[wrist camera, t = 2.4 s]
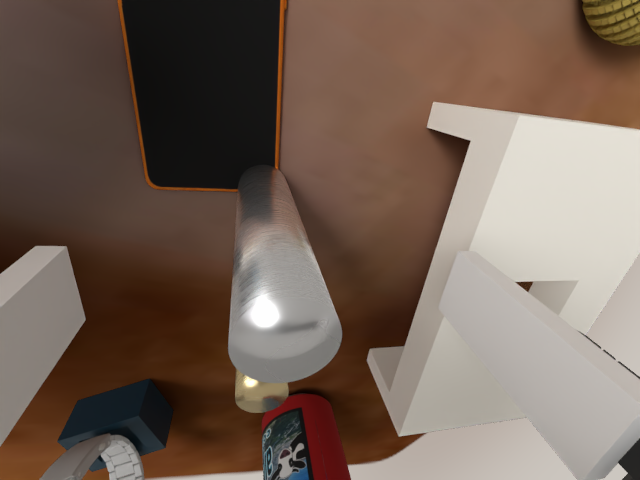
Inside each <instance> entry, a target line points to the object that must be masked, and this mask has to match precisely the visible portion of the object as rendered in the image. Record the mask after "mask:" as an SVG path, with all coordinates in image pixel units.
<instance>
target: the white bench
mask: <svg viewBox="0 0 640 480" xmlns="http://www.w3.org/2000/svg"><path fill="white" fill-rule="evenodd" d="M427 128H430V129H433V130H437V131H440V132H443V133H447V134H450V135H453V136H457V137H460V138H463V139H466V140H470V141H471V142H470V145H469V148H468V151H467V154H466V157H465V160H464V163H463V166H462V169H461V173H460V176H459V179H458V182H457V185H456V188H455V191H454V194H453V197H452V200H451V204H450V207H449V210H448V213H447V216H446V219H445V222H444V225H443V228H442V231H441V235H440V238H439V241H438V244H437V247H436V250H435V253H434V256H433V259H432V263H431V266H430V269H429V272H428V275H427V278H426V281H425V284H424V287H423V290H422V294H421V297H420V300H419V303H418V306H417V309H416V312H415V315H414V318H413V321H412V325H411V328H410V331H409V334H408V337H407V340H406V343H405V346H399V347H386V348H373V349H370V350H369V354H368V357H367V363H368V365H369V367H370V370H371V372H372V375H373V377H374V379H375V382H376V384H377V386H378V389H379V391H380V394H381V396H382V398H383V401H384V403H385V405H386V408H387V410H388V413H389V415H390V417H391V420H392V422H393V424H394V427H395V429H396V432H397V434H398V436H399V437H400V436H407V435H413V434H420V433H427V432H434V431H440V430H447V429H454V428H460V427H467V426H474V425H481V424H487V423H494V422H501V421H507V420H514V419H521V418H527V417H526V416H525V414H524V413H523V412H522V411H521V410H520V408H519V407H518V406H517V405H516V403H515V402H514V401H513V400H512V398H511V397H510V396H509V395H508V393H507V392H506V391H505V390H504V389H503V387H502V386H501V385H500V384H499V382H498V381H497V380H496V379H495V377H494V376H493V375H492V374H491V373H490V371H489V370H488V369H487V368H486V366H485V365H484V364H483V363H482V361H481V360H480V359H479V358H478V356H477V355H476V354H475V353H474V352H473V350H472V349H471V348H470V347H469V345H468V344H467V343H466V342H465V340H464V339H463V338H462V337H461V336H460V334H459V333H458V332H457V331H456V329H455V328H454V327H453V326H452V324H451V323H450V322H449V321H448V320H447V318H446V317H445V316H444V315H443V313H442V312H441V311H440V310H439V308H438V306H439V303H440V300H441V298H442V295H443V292H444V289H445V286H446V283H447V281H448V278H449V275H450V272H451V269H452V266H453V264H454V261H455V258H456V255H457V252H458V251H476V252H477V253H478V254H479V255H481V256H482V257H483V258H485V259H486V260H487V261H488V262H490V263H491V264H492V265H494V266H495V267H496V268H497V269H499V270H500V271H501V272H503V273H504V274H505V275H506V276H508V277H509V278H510V279H512V280H513V281H514V282H531V281H534V282H533V284H532V286H531V288H530V290H529V292H528V293H529V294H531V295H532V296H533V297H535V298H536V299H537V300H538V301H540V302H541V303H542V304H544V305H545V306H546V307H547V308H549V309H550V310H551V311H553V312H554V313H555V314H556V315H558V316H559V317H560V318H562V319H563V320H564V321H565V322H567V323H568V324H569V325H571V326H572V327H573V328H574V329H576V330H578V331H579V332H581V333H583V334H584V335H586V334H587V333H588V331H589V330H590V328H591V327H592V325H593V323H594V322H595V320H596V319H597V317H598V316H599V314H600V313H601V311H602V310H603V308H604V307H605V305H606V303H607V302H608V301H609V299H610V298H611V296H612V294H613V293H614V291H615V290H616V288H617V287H618V285H619V284H620V282H621V281H622V279H623V278H624V276H625V275H626V273H627V272H628V270H629V269H630V267H631V265H632V264H633V262H634V261H635V259H636V258H637V256H638V255H639V253H640V129H633V128H626V127H619V126H612V125H605V124H598V123H591V122H584V121H577V120H569V119H561V118H554V117H546V116H538V115H531V114H523V113H516V112H508V111H500V110H493V109H485V108H477V107H470V106H462V105H454V104H447V103H439V102H433V105H432V109H431V113H430V117H429V120H428V124H427Z"/></svg>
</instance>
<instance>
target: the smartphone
mask: <svg viewBox="0 0 640 480" xmlns="http://www.w3.org/2000/svg"><path fill="white" fill-rule="evenodd" d="M117 1H118V7H119V14H120V20H121V26H122V33H123V39H124V45H125V52H126V58H127V64H128V71H129V77H130V83H131V90H132V96H133V103H134V109H135V115H136V122H137V128H138V134H139V141H140V147H141V153H142V160H143V166H144V172H145V179H146V181H147V183H148V184H149V186H151V187H152V188H154V189H159V190H194V191H231V192H238V184H239V180H240V178H241V176H242V175H243V173H244V172H245V171H246V170H248V169H249V168H251V167H253V166H257V165H268V166H272V167H274V168H276V169H278V163H279V137H280V111H281V85H282V58H283V32H284V10H286V8H287V0H117Z"/></svg>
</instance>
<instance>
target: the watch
mask: <svg viewBox="0 0 640 480" xmlns="http://www.w3.org/2000/svg"><path fill="white" fill-rule="evenodd" d="M172 415H173V409H172V408H171V406H170V405H169V404H168V402H167V401H166V400H165V398H164V397H163V396H162V394H161V393H160V391H159V390H158V389H157V387H156V386H155V385H154V383H153V382H152V381H151V379H147V380H143V381H140V382H137V383H134V384H130V385H127V386H124V387H120V388H117V389H114V390H111V391H107V392H104V393H101V394H98V395H94V396H91V397H88V398H85V399H81V400H78V402H77V404H76V405H75V407H74V409H73V411H72V413H71V415H70V417H69V419H68V421H67V423H66V425H65V427H64V429H63V431H62V433H61V435H60V437H59V439H58V441H57V442H58V443H59V444H61V445H62V446H63V447H64V448H65V449H66V450H68V451H66V452H65V453H64V454H63V455H62V456H60V457H59V458H58V459H57V460H56V461H55V462H54V463H53V464H52V465H51V466H50V468H49V469H48V470H47V471H46V472H45V473H44V475H43V476H42V477H41V478H40V480H81V479H82V478H83V476H84V475H85V473H86V472H87V470H88V469H90V470H91V471H92V472H93V471H96V470H99V469H102V468H105V467H107V468H108V472H110V475H109V476H110V480H144V475H143V474H144V471H143V466H142V462H140V461H141V458H140V456H142V455H145V454H148V453H151V452H154V451H157V450H161V449H164V448H165V447H166V443H167V438H168V433H169V429H170V424H171V419H172ZM132 473H133V474H132ZM129 474H130V475H129ZM126 475H127V476H126ZM141 475H143V476H141ZM123 476H124V477H123ZM138 476H140V477H138ZM120 477H121V478H120Z"/></svg>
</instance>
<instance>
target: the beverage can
mask: <svg viewBox="0 0 640 480" xmlns="http://www.w3.org/2000/svg"><path fill="white" fill-rule="evenodd" d="M262 452H263V476H264V480H351V478H350V474H349V470H348V466H347V462H346V459H345V455H344V451H343V447H342V443H341V440H340V436H339V432H338V428H337V425H336V421H335V417H334V414H333V410H332V407H331V405H330V403H329V402H328V401H327V400H326V399H325V398H323V397H321V396H318V395H314V394H306V393H299V394H293V395H290V396H288V397H287V399H286V400H285V401H284V403H283V404H281V405H280V406H279V407H277V408H275V409H273V410H270V411H267V412H266V413H265V414H264V416H263V419H262Z"/></svg>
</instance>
